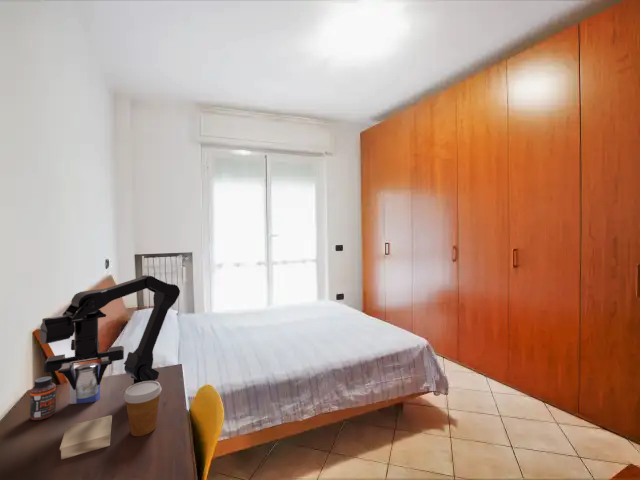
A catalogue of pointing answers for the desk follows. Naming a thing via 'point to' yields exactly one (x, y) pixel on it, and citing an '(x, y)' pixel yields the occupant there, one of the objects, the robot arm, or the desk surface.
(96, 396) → the walkman
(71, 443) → the oak box
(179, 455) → the desk surface
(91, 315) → the robot arm
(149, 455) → the desk surface
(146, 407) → the disposable coffee cup
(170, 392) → the desk surface
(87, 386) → the tin
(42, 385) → the supplement bottle
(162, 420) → the desk surface
